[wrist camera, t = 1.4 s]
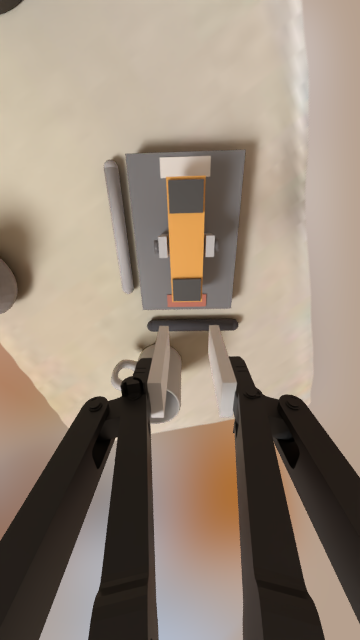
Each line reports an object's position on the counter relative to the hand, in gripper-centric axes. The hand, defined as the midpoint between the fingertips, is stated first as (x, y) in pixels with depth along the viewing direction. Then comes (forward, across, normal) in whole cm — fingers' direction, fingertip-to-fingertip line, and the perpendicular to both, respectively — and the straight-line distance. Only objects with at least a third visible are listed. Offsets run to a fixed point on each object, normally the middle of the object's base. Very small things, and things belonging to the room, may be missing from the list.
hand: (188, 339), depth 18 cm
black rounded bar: (+19, +1, -8) cm, 20 cm away
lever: (+13, 0, +6) cm, 15 cm away
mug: (+19, -7, -16) cm, 26 cm away
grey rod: (+19, -10, +7) cm, 22 cm away
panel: (+19, 0, +6) cm, 20 cm away
